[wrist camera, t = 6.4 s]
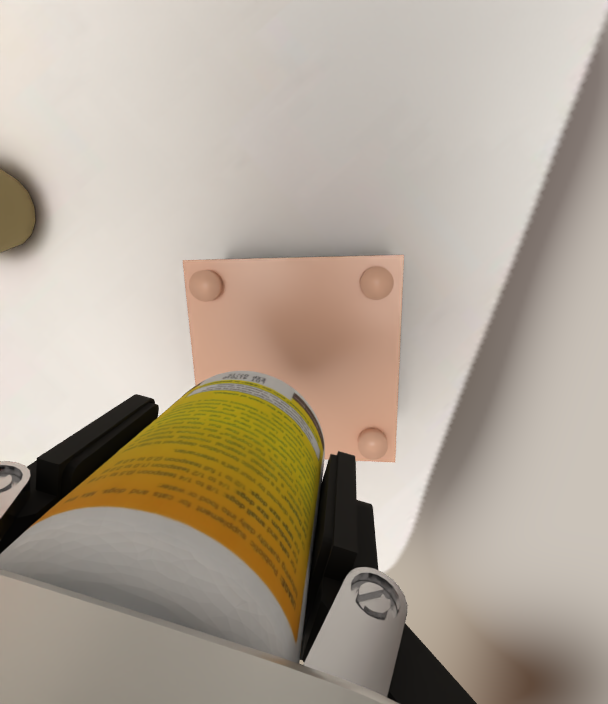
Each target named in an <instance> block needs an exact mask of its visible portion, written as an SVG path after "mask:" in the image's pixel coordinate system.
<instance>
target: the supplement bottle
mask: <svg viewBox="0 0 608 704" xmlns="http://www.w3.org/2000/svg"><path fill="white" fill-rule="evenodd" d="M324 458H325V443H324V436H323V432H322V428H321V426H320V423H319V420H318V418H317V416H316V414H315V413H314V411H313V409H312V408H311V406H310V405H309V404H308V402H307V401H306V400H305V399H304V398H303V396H302V395H301V394H300V393H299V392H297V391H296V390H295V389H294V388H292V387H291V386H289V385H288V384H286V383H285V382H283V381H281V380H279V379H277V378H275V377H272V376H269V375H266V374H263V373H259V372H253V371H231V372H226V373H221V374H218V375H215V376H212V377H210V378H208V379H206V380H204V381H202V382H201V383H199V384H198V385H196V386H195V387H194V388H192V389H191V390H189V391H188V392H187V393H185V394H184V395H183V396H182V397H181V398H180V399H179V400H178V401H176V402H175V403H174V404H173V405H172V406H171V407H169V408H168V409H167V410H166V411H165V412H164V413H162V414H161V415H160V416H159V417H158V418H157V419H155V420H154V421H153V422H152V423H151V424H150V425H148V426H147V427H146V428H145V429H143V430H142V431H141V432H140V433H139V434H138V435H136V436H135V437H134V438H133V439H132V440H131V441H130V442H128V443H127V444H126V445H125V446H123V447H122V448H121V449H120V450H119V451H118V452H116V453H115V454H114V455H113V456H112V457H111V458H110V459H109V460H108V461H107V462H105V463H104V464H103V465H102V466H101V467H99V468H98V469H97V470H96V471H95V472H94V473H92V474H91V475H90V476H89V477H88V478H87V479H86V480H84V481H83V482H82V483H81V484H80V485H78V486H77V487H76V488H75V489H73V490H72V491H71V492H70V493H69V494H68V495H66V496H65V497H64V498H63V499H62V500H60V501H59V502H58V503H57V504H55V505H54V506H53V507H52V508H51V509H49V510H48V511H47V512H46V513H45V514H44V515H43V516H42V517H41V518H40V519H38V520H37V521H36V522H35V523H33V524H32V525H31V526H30V527H29V528H28V529H27V530H26V531H25V532H24V533H23V534H22V535H21V536H20V537H18V538H17V539H16V540H15V541H14V542H13V543H12V544H11V545H10V546H9V547H7V548H6V549H5V550H4V551H3V552H2V553H1V554H0V569H3V570H6V571H9V572H13V573H16V574H19V575H22V576H26V577H29V578H32V579H35V580H39V581H42V582H45V583H48V584H52V585H55V586H58V587H61V588H64V589H68V590H71V591H74V592H77V593H80V594H84V595H87V596H90V597H93V598H96V599H100V600H103V601H106V602H109V603H112V604H115V605H119V606H122V607H125V608H128V609H131V610H134V611H138V612H141V613H144V614H147V615H150V616H153V617H157V618H160V619H163V620H166V621H169V622H172V623H176V624H179V625H182V626H185V627H188V628H191V629H194V630H197V631H200V632H204V633H207V634H210V635H213V636H216V637H219V638H222V639H225V640H228V641H232V642H235V643H238V644H241V645H244V646H247V647H250V648H253V649H256V650H260V651H263V652H266V653H269V654H272V655H275V656H278V657H281V658H284V659H287V660H289V661H292V662H295V663H298V664H299V660H300V652H301V644H302V636H303V628H304V620H305V612H306V603H307V595H308V587H309V578H310V571H311V563H312V555H313V547H314V540H315V532H316V525H317V517H318V509H319V500H320V492H321V484H322V476H323V467H324Z"/></svg>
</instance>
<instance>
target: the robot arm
mask: <svg viewBox="0 0 608 704" xmlns="http://www.w3.org/2000/svg"><path fill="white" fill-rule="evenodd" d="M158 410H159V407H158V405H157V404H155V401H154V399H152V398H148V397H145V396H141V395H137V394H136V395H133V396H132V397H130V398H129V399H127V400H126V401H124V402H123V403H121V404H120V405H118V406H116V407H115V408H113V409H112V410H110V411H109V412H107V413H106V414H104V415H103V416H101V417H100V418H98V419H96V420H95V421H93V422H92V423H90V424H89V425H87V426H86V427H84V428H83V429H81V430H79V431H78V432H76V433H75V434H73V435H72V436H70V437H69V438H67V439H66V440H64V441H63V442H61V443H59V444H58V445H56V446H55V447H53V448H52V449H50V450H49V451H47V452H46V453H44V454H42V455H41V456H39V457H38V458H37V461H35V462H34V463H32V464H30V465H29V466H27V467H26V466H25V465H22V464H20V463H16V462H10V461H0V554H1V553H2V552H3V551H4V550H5V549H6V548H7V547H9V546H10V545H11V544H12V543H13V542H14V541H15V540H16V539H17V538H18V537H20V536H21V535H22V534H23V533H24V532H25V531H26V530H27V529H28V528H29V527H30V526H31V525H32V524H33V523H35V522H36V521H37V520H38V519H40V518H41V517H42V516H43V515H44V514H45V513H46V512H47V511H48V510H49V509H51V508H52V507H53V506H54V505H55V504H57V503H58V502H59V501H60V500H62V499H63V498H64V497H65V496H66V495H68V494H69V493H70V492H71V491H72V490H73V489H75V488H76V487H77V486H78V485H80V484H81V483H82V482H83V481H84V480H86V479H87V478H88V477H89V476H90V475H91V474H92V473H94V472H95V471H96V470H97V469H98V468H99V467H101V466H102V465H103V464H104V463H105V462H107V461H108V460H109V459H110V458H111V457H112V456H113V455H114V454H115V453H116V452H118V451H119V450H120V449H121V448H122V447H123V446H125V445H126V444H127V443H128V442H130V441H131V440H132V439H133V438H134V437H135V436H136V435H138V434H139V433H140V432H141V431H142V430H143V429H145V428H146V427H147V426H148V425H150V424H151V423H152V422H153V421H154V420H155V419H157V417H158ZM406 616H407V602H406V599H405V596H404V594H403V592H402V591H401V589H400V587H399V586H398V585H397V584H396V583H395V582H394V581H393V579H391V578H390V577H389V576H387V575H386V574H385V573H383V572H381V571H379V570H378V562H377V550H376V539H375V528H374V516H373V507H372V505H371V504H369V503H365V502H362V501H358V500H356V462H355V456H354V455H351V454H347V453H344V452H340V451H338V453H337V455H334V454H330V457H329V460H328V464H327V467H326V471H325V474H324V477H323V481H322V484H321V492H320V500H319V509H318V517H317V525H316V532H315V540H314V547H313V555H312V563H311V571H310V578H309V587H308V595H307V603H306V612H305V620H304V628H303V636H302V644H301V652H300V660H303V662H304V664H303V665H301V664H298V663H295V662H292V661H289V660H287V659H284V658H281V657H278V656H275V655H272V654H269V653H266V652H263V651H260V650H256V649H253V648H250V647H247V646H244V645H241V644H238V643H235V642H232V641H228V640H225V639H222V638H219V637H216V636H213V635H210V634H207V633H204V632H200V631H197V630H194V629H191V628H188V627H185V626H182V625H179V624H176V623H172V622H169V621H166V620H163V619H160V618H157V617H153V616H150V615H147V614H144V613H141V612H138V611H134V610H131V609H128V608H125V607H122V606H119V605H115V604H112V603H109V602H106V601H103V600H100V599H96V598H93V597H90V596H87V595H84V594H80V593H77V592H74V591H71V590H68V589H64V588H61V587H58V586H55V585H52V584H48V583H45V582H42V581H39V580H35V579H32V578H29V577H26V576H22V575H19V574H16V573H13V572H9V571H6V570H3V569H0V704H477V703H476V702H475V701H474V700H473V699H472V698H471V697H470V696H469V694H468V693H467V692H466V691H465V690H464V689H463V688H462V687H461V685H460V684H459V683H458V682H457V681H456V680H455V679H454V678H453V676H452V675H451V674H450V673H449V672H448V671H447V670H446V669H445V667H444V666H443V665H442V664H441V663H440V662H439V661H438V660H437V659H436V657H435V656H434V655H433V654H432V653H431V652H430V651H429V649H428V648H427V647H426V646H425V645H424V644H423V643H422V642H421V640H419V638H418V637H417V636H416V635H415V634H414V633H413V632H412V631H411V629H410V628H409V627H408V626H407V625H406V624H405V620H406Z"/></svg>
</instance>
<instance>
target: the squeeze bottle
mask: <svg viewBox="0 0 608 704" xmlns="http://www.w3.org/2000/svg"><path fill="white" fill-rule="evenodd" d="M34 225H35V208H34V205H33V202H32V200H31V198H30V195H29V193H28V191H27V190H26V189H25V188H24V187H23V185H22V184H21V183H20V182H19V181H18V180H17V179H15V178H14V177H12V176H10V175H9V174H7V173H6V172H4V171H3V170H1V169H0V252H3V251H5V250H8V249H10V248H13V247H16V246H18V245H21V244H23V243H24V242H25V241H26V240H27V239H28V238H29V237H30V236H31V234H32V231H33V228H34Z"/></svg>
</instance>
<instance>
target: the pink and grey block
mask: <svg viewBox="0 0 608 704" xmlns="http://www.w3.org/2000/svg"><path fill="white" fill-rule="evenodd" d="M403 265H404V255H371V256H331V257H291V258H250V259H213V260H183V268H184V278H185V288H186V297H187V307H188V317H189V326H190V336H191V345H192V355H193V365H194V374H195V384H196V385H198V384H199V383H201V382H202V381H204V380H206V379H208V378H210V377H212V376H215V375H218V374H221V373H226V372H231V371H253V372H259V373H263V374H266V375H269V376H272V377H275V378H277V379H279V380H281V381H283V382H285V383H286V384H288V385H289V386H291V387H292V388H294V389H295V390H296V391H297V392H299V393H300V394H301V395H302V396H303V398H304V399H305V400H306V401H307V402H308V404H309V405H310V406H311V408H312V409H313V411H314V413H315V414H316V416H317V418H318V420H319V423H320V426H321V428H322V432H323V436H324V443H325V458H324V459H329V457H330V454H334V455H337V453H338V451H340V452H344V453H347V454H351V455H354V456H355V461H377V462H395V453H396V430H397V406H398V383H399V359H400V336H401V312H402V289H403Z"/></svg>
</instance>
